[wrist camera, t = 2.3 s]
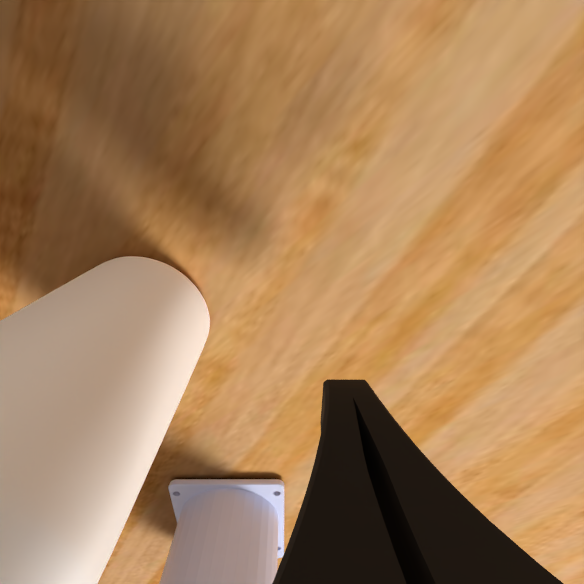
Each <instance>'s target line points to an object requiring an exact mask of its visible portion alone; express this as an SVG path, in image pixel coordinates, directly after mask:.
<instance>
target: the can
mask: <svg viewBox="0 0 584 584" xmlns="http://www.w3.org/2000/svg"><path fill="white" fill-rule="evenodd" d="M209 328H210V317H209V312H208V308H207V305H206V302H205V300H204V298H203V296H202V295H201V293H200V292H199V290H198V289H197V287H196V286H195V285H194V284H193V283H192V282H191V281H190V280H189V279H188V278H187V277H186V276H185V275H184V274H182V273H181V272H179V271H178V270H176V269H175V268H173V267H171V266H169V265H167V264H165V263H163V262H160V261H158V260H154V259H151V258H146V257H138V256H126V257H119V258H115V259H112V260H109V261H106V262H104V263H102V264H100V265H98V266H96V267H94V268H93V269H91V270H89V271H87V272H85V273H84V274H82V275H80V276H78V277H76V278H75V279H73V280H71V281H69V282H68V283H66V284H64V285H62V286H61V287H59V288H57V289H55V290H54V291H52V292H50V293H48V294H47V295H45V296H43V297H41V298H40V299H38V300H36V301H34V302H33V303H31V304H29V305H27V306H26V307H24V308H22V309H20V310H19V311H17V312H15V313H13V314H12V315H10V316H8V317H6V318H5V319H3V320H1V321H0V584H97V583H98V581H99V579H100V577H101V575H102V573H103V571H104V569H105V567H106V564H107V562H108V560H109V558H110V556H111V554H112V552H113V549H114V547H115V545H116V543H117V541H118V538H119V536H120V534H121V532H122V530H123V527H124V525H125V523H126V521H127V519H128V516H129V514H130V512H131V510H132V508H133V505H134V503H135V501H136V499H137V496H138V494H139V492H140V490H141V487H142V485H143V483H144V481H145V479H146V476H147V474H148V472H149V470H150V467H151V465H152V463H153V461H154V458H155V456H156V454H157V452H158V449H159V447H160V445H161V443H162V440H163V438H164V436H165V434H166V431H167V429H168V427H169V425H170V422H171V420H172V418H173V416H174V413H175V411H176V409H177V407H178V404H179V402H180V400H181V398H182V395H183V393H184V391H185V389H186V386H187V384H188V382H189V380H190V377H191V375H192V373H193V370H194V368H195V366H196V364H197V361H198V359H199V357H200V354H201V352H202V350H203V347H204V345H205V342H206V340H207V337H208V333H209Z"/></svg>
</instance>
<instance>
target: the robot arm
mask: <svg viewBox="0 0 584 584" xmlns="http://www.w3.org/2000/svg"><path fill="white" fill-rule="evenodd" d="M168 489H169V493H170V497H171V501H172V505H173V509H174V513H175V517H176V521H177V527H176V530H175V534H174V537H173V540H172V544H171V547H170V550H169V554H168V557H167V560H166V563H165V567H164V570H163V573H162V577H161V580H160V583H159V584H563V583H562V582H561V581H560V580H558V579H557V578H556V577H555V576H553V575H552V574H551V573H550V572H548V571H547V570H546V569H545V568H543V567H542V566H541V565H540V564H539V563H537V562H536V561H535V560H534V559H533V558H532V557H530V556H529V555H528V554H527V553H526V552H525V551H524V550H522V549H521V548H520V547H519V546H518V545H517V544H516V543H514V542H513V541H512V540H511V539H510V538H509V537H507V536H506V535H505V534H504V533H503V532H502V531H501V530H499V529H498V528H497V527H496V526H495V525H494V524H493V523H491V522H490V521H489V520H488V519H487V518H486V517H485V516H484V515H483V514H482V513H481V512H480V511H479V510H478V509H476V508H475V507H474V506H473V505H472V504H471V503H470V502H469V501H468V500H467V499H466V498H465V497H464V496H463V495H462V494H461V493H460V492H459V491H458V490H457V489H456V488H455V487H454V486H453V485H452V484H451V483H450V482H449V481H448V480H447V479H446V478H445V477H444V476H443V475H442V474H441V473H440V472H439V471H438V469H437V468H436V467H435V466H434V465H433V464H432V463H431V462H430V461H429V460H428V458H427V457H426V456H425V455H424V454H423V453H422V452H421V451H420V450H419V448H418V447H417V446H416V445H415V444H414V443H413V441H412V440H411V439H410V438H409V437H408V435H407V434H406V433H405V432H404V430H403V429H402V428H401V427H400V426H399V424H398V423H397V422H396V421H395V419H394V418H393V417H392V416H391V414H390V413H389V412H388V410H387V409H386V408H385V406H384V405H383V404H382V402H381V401H380V400H379V398H378V397H377V395H376V394H375V393H374V391H373V390H372V388H371V387H370V386H369V384H368V383H367V382H366V381H365V380H326V381H325V382H324V384H323V398H322V411H321V437H320V441H319V446H318V450H317V454H316V458H315V463H314V466H313V470H312V474H311V477H310V481H309V484H308V487H307V491H306V494H305V497H304V500H303V503H302V506H301V509H300V512H299V515H298V518H297V521H296V524H295V527H294V529H293V532H292V535H291V538H290V540H289V543H288V546H287V548H286V551H285V553H284V482H283V481H282V480H280V479H175V480H172V481H171V482H170V484H169V487H168ZM281 557H283V558H282V561H281V563H280V566H279V568H278V571H277V559H278V558H281Z"/></svg>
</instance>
